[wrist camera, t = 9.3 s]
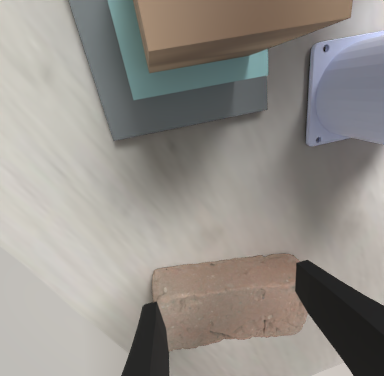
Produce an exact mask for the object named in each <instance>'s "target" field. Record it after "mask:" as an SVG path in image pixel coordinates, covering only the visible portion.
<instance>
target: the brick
mask: <svg viewBox="0 0 384 376" xmlns="http://www.w3.org/2000/svg"><path fill="white" fill-rule="evenodd" d="M298 262H300V261H299V260H298V259H296V257H295V256H294V255H291V254H271V255H268V256H266V257H263V256H262V255H258V256H255V257H245V258H234V259H230V260H221V261H216V262H205V263H199V264H187V265H180V266H173V267H167V268H160V269H156V270H154V273H153V279H152V295H153V302H156V301H157V303H158V306H159V309H160V312H161V315H162V318H163V321H164V324H165V327H166V332H167V341H168V350H169V351H172V350H176V349H182V348H184V349H190V348H196V347H198V346H204V345H208V344H211V343H216V342H220V341H221V340H223V339H224V338H225V339H235V338H236V339H238V340H245V339H250V338H251V337H253V336H254V337H258V336H259V337H270V336H273V337H277V336H287V335H293V334H296V333H298V332H299V331H300V330H301V329H302V327H303V324H304V323H305V321H306V317H307V313H308V312H307V311H306V309H305V307H304V306H303V304H302V302H301V301H300V299H299V297H298V295H297V294H296V292H295V281H296V263H298Z"/></svg>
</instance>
